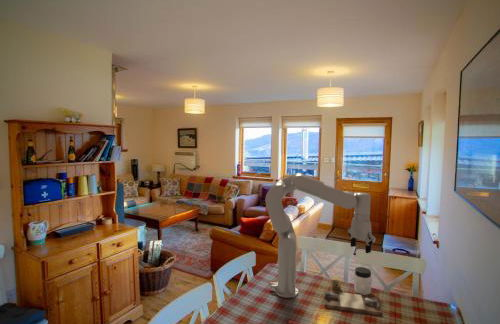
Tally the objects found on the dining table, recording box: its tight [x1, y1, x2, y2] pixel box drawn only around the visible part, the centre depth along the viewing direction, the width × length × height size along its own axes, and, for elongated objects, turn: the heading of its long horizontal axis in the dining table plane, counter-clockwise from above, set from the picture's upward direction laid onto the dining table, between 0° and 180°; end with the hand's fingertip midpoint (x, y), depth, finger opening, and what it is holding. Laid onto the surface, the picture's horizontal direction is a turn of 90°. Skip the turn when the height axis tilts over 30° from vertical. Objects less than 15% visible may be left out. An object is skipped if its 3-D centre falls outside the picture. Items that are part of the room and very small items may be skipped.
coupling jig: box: [324, 290, 383, 316], centre depth 145 cm, size 26×14×4 cm, turn 76°
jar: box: [353, 266, 372, 296], centre depth 158 cm, size 9×8×12 cm
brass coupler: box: [330, 275, 342, 292], centre depth 158 cm, size 5×6×7 cm
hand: (360, 249), depth 149 cm, fingers open, 9 cm apart
